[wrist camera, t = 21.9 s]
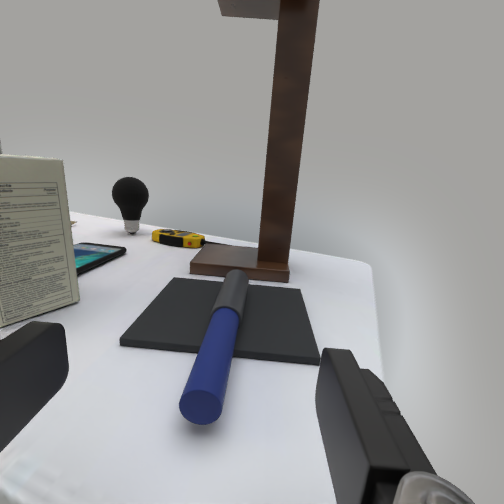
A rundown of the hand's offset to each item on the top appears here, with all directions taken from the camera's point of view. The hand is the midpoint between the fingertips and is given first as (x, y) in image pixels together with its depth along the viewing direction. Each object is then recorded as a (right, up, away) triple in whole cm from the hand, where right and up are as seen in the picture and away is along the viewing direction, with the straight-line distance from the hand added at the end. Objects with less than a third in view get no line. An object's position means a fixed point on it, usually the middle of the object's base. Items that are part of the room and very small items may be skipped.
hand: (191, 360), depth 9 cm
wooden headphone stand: (+1, +1, +29) cm, 29 cm away
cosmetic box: (-17, -2, +15) cm, 23 cm away
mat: (0, -2, +17) cm, 17 cm away
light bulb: (-20, +6, +42) cm, 47 cm away
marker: (0, -2, +12) cm, 12 cm away
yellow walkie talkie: (-8, +4, +38) cm, 39 cm away
